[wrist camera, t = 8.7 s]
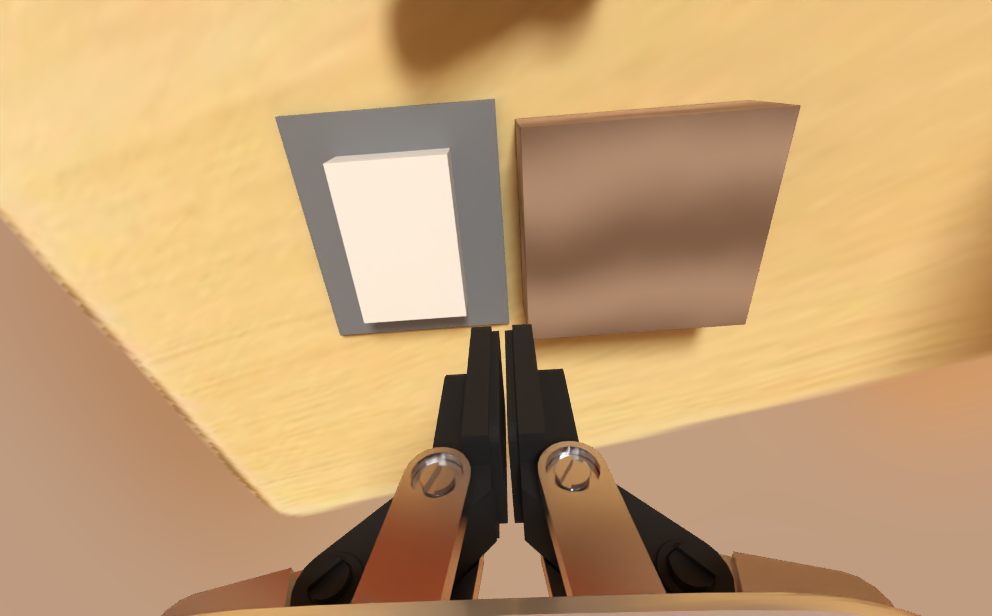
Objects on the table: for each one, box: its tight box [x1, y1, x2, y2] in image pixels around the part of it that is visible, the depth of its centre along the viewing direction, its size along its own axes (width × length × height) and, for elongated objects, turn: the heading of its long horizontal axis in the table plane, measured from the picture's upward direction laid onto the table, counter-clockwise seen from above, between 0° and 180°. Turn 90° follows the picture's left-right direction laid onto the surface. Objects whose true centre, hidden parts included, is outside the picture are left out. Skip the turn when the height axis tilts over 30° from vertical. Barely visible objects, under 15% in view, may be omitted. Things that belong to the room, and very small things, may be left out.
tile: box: [323, 148, 468, 323], centre depth 23 cm, size 9×6×2 cm, turn 4°
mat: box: [275, 99, 509, 335], centre depth 24 cm, size 13×11×1 cm
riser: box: [515, 100, 801, 339], centre depth 23 cm, size 11×12×4 cm
